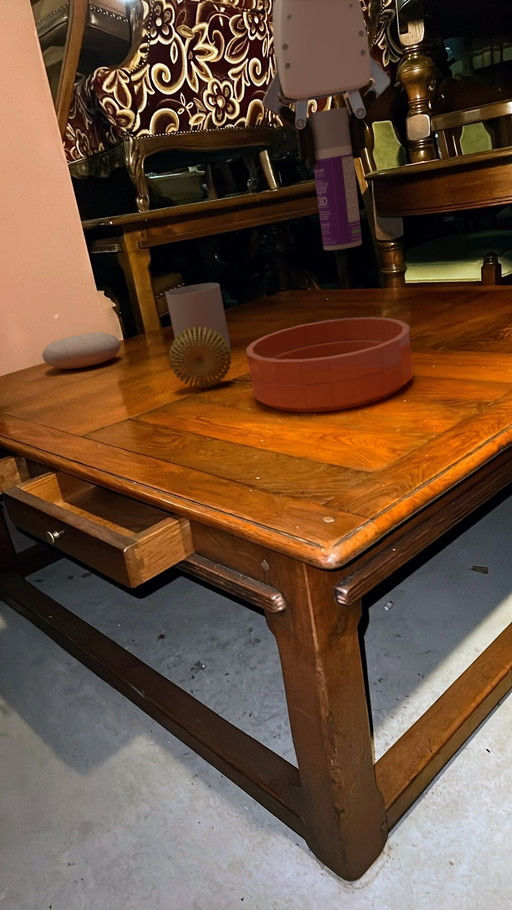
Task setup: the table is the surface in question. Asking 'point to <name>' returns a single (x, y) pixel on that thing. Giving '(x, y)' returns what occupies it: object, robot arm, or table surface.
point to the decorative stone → (81, 350)
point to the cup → (198, 309)
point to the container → (335, 179)
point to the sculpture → (200, 357)
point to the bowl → (331, 364)
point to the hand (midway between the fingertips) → (333, 160)
